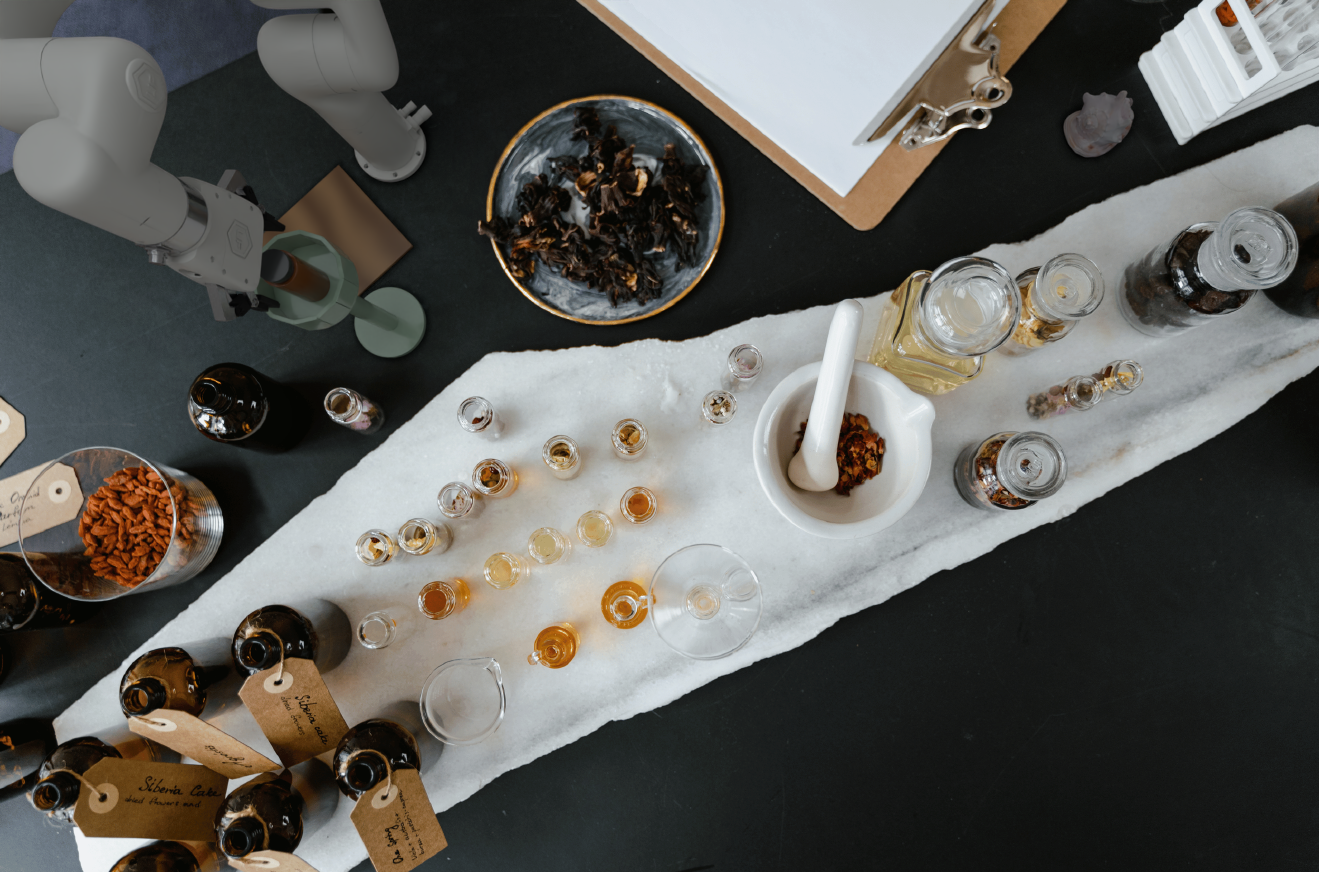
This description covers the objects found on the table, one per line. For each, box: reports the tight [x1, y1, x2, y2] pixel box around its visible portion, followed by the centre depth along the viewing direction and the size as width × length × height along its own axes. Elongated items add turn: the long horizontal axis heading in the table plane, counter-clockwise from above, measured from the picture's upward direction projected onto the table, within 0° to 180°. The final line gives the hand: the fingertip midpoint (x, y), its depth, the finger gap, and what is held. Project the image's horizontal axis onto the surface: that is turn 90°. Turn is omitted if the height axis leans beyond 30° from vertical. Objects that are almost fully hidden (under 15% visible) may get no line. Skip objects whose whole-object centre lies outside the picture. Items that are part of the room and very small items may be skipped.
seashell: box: [1063, 90, 1135, 158], centre depth 110 cm, size 10×12×9 cm
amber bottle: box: [260, 249, 330, 302], centre depth 87 cm, size 5×5×9 cm
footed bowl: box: [254, 230, 427, 359], centre depth 102 cm, size 12×12×29 cm
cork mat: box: [262, 164, 414, 297], centre depth 118 cm, size 20×20×1 cm
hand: (271, 266), depth 83 cm, fingers open, 9 cm apart
